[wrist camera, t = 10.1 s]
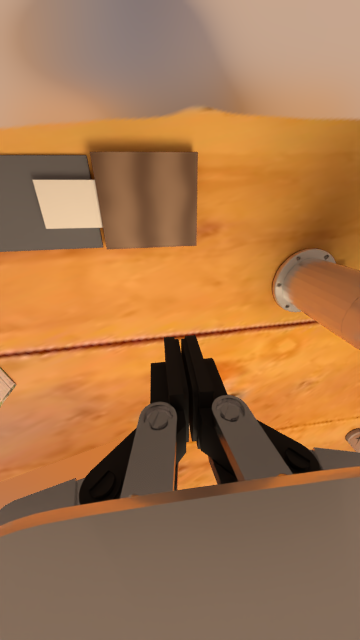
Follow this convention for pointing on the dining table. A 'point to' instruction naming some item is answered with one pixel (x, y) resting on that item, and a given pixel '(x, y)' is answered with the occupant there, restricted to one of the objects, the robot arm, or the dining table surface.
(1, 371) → the syrup box
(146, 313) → the dining table surface
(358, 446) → the travel mug
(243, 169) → the dining table surface
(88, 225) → the tile
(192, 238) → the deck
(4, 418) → the dining table surface
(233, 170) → the dining table surface
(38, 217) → the mat
